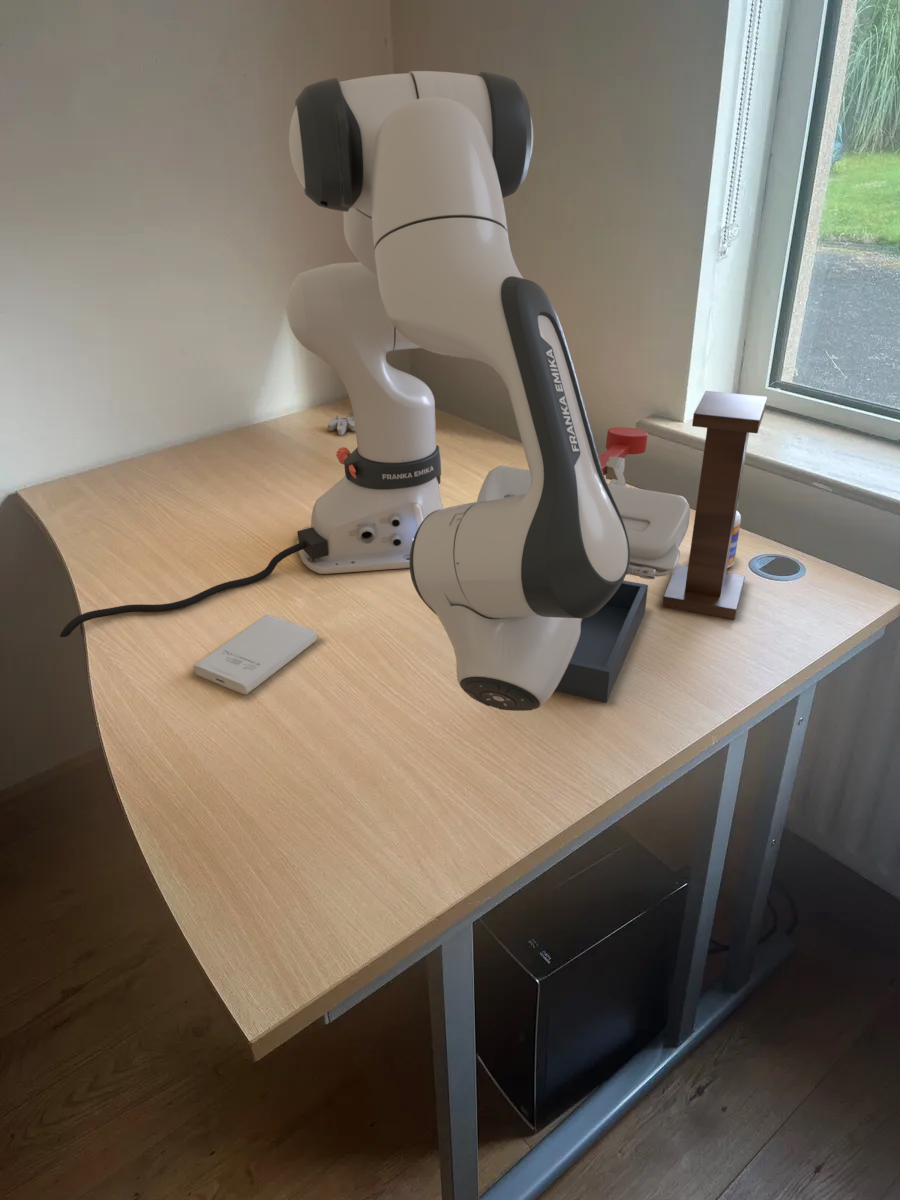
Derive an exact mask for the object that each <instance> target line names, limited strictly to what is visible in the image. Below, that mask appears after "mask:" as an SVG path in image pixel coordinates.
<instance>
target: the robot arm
mask: <svg viewBox="0 0 900 1200" xmlns="http://www.w3.org/2000/svg"><path fill="white" fill-rule="evenodd" d="M528 100H529V99H528V98H527V95H526V94H525V92H524V90H522V88H521V87H520V85H519V84H518V83H517V81H516V80H514V79H513V78H511V77H508V76H505V75H502V74H498V73H492V72H486V71H480V72H479V73H478V74H477V75H476V74H469V73H461V72H451V71H434V70H409V71H408V72H407V73H390V74H389V73H388V74H381V75H380V74H379V75H378V74H377V75H370V76H365V77H357V78H352V79H348V80H342V81H340V80H339V79H338V77H333V78H328V79H324V80H320V81H317V82H313V83H311V84H309V85H306V86H304V88H302V91H301V92H300V93H299V94H298V96H297V97H296V98H295V102H294V106H295V108H294V110H293V113H292V116H291V120H290V122H289V123H290V124H289V130H288V150H289V157H290V160H291V161H290V162H291V164H292V168H293V171H294V173H295V176H296V177H297V179H298V181H299V183H300V184H301V186H302V188H303V192H304V195H305V196H306V197H307V198H309V200H311V201H312V202H313V203H314V204H316V205H317V206H319V207H321V208H325V209H329V210H333V211H339V212H343V213H342V214H343V235H344V239H345V242H346V244H347V246H348V248H349V250H350V251H351V253H352V254H353V255H354V257H355V259H356V260H358V261H354V262H337V263H335V262H334V263H330V264H327V265H322V266H319V267H315V268H312V269H309V270H305V271H302V272H299V273H298V274H297V276H296V277H295V278H294V280H293V281H292V283H291V285H290V288H289V289H288V293H287V297H286V302H285V303H286V305H285V307H286V310H285V311H286V318H287V322H288V325H289V327H290V330H291V332H292V334H293V336H294V337H295V338H296V340H297V341H298V343H300V344H301V346H303V347H304V348H305V349H306V350H307V351H309V352H310V353H312V354H314V355H315V356H316V357H318V358H320V359H321V360H323V361H324V362H325V363H326V364H327V365H328V366H329V367H330V368H331V369H332V370H333V371H334V373H335V374H336V375H337V376H338V378H339V379H340V380H341V382H342V384H343V386H344V388H345V390H346V392H347V395H348V398H349V401H350V405H351V410H352V413H353V415H352V416H353V418H354V422H355V429H356V431H355V438H356V448H355V449H353V451H352V452H351V451H350V450H349V449H348V447H339V448H338V449H337V451H335V452H336V455H335V457H336V459H337V460H338V462H339V463H340V464H341V465H343V466H344V467H343V468H344V474H345V475H344V476H343V477H342V478H341V479H340V480H339V481H338V482H337V483H335V484H334V485H333V486H331V487H330V488H329V489H328V490H327V491H326V492H325V493H323V494H322V495H321V496H320V497H318V498H317V499H316V501H315V503H314V505H313V507H312V512H311V518H310V525H308V526H305V527H304V528H302V529H300V530H297V531H296V533H297V543H296V544H293V545H292V546H290V547H287V548H285V549H283V550H282V551H280V552H279V553H277V554H275V556H273V557H272V558H271V560H270V561H269V563H268V564H267V565H266V567H265V568H264V569H262V570H261V571H259V572H258V573H256V574H253V575H251V576H248V577H243V578H240V579H239V578H238V579H235V580H229V581H226V582H223V583H218V584H217V585H215V586H211V587H209V588H207V589H205V590H203V591H201V592H198V593H197V594H193V595H192V596H189V597H187V598H184V599H182V600H179V601H174V602H170V603H161V604H160V603H159V604H144V603H143V604H123V605H119V606H113V607H108V608H102V609H95V610H91V611H87V612H84V613H82V614H80V615H77V616H76V617H74V618H73V619H71V621H69V622H68V623H67V624H66V625H65V626H64V628H63V629H62V631H61V632H60V634H59V637H60V638H66V637H68V636H70V635H71V634H72V632H73V631H74V630H75V629H76V628H77V627H78V626H79V625H81V624H83V623H85V622H87V621H90V620H94V619H99V618H104V617H110V616H116V615H120V614H121V615H122V614H127V613H163V612H165V613H166V612H170V611H177V610H180V609H183V608H184V609H185V608H186V607H189V606H192V605H195V604H197V603H200V602H201V601H203V600H205V599H207V598H209V597H210V598H211V596H213V595H216V594H219V593H221V592H224V591H227V590H230V589H234V588H238V587H243V586H248V585H251V584H255V583H257V582H259V581H261V580H264V579H265V578H267V577H268V576H270V575H271V574H272V573H273V571H274V570H275V568H276V567H277V565H278V564H279V563H280V562H281V561H283V560H284V559H286V558H288V557H289V556H291V555H294V554H295V553H298V555H299V558H300V561H302V563H303V564H304V566H305V567H306V568H307V569H310V571H312V572H314V573H317V574H319V575H328V574H341V573H342V574H343V573H354V572H357V573H358V572H370V571H383V570H397V569H409V575H410V578H411V579H410V580H411V582H412V585H413V587H414V589H415V591H416V593H417V595H418V596H419V598H420V599H421V601H422V602H423V603H424V604H425V605H426V606H427V608H429V609H430V610H431V612H433V613H434V614H435V616H437V618H438V620H439V621H440V623H441V625H442V627H443V628H444V630H445V632H446V635H447V637H448V639H449V641H450V643H451V645H452V648H453V651H454V657H455V662H456V663H455V664H456V679H457V683H458V685H459V687H460V688H461V689H462V690H463V692H464V693H466V694H467V695H468V696H469V697H470V698H471V699H473V700H474V701H475V702H478V703H480V704H482V705H485V706H487V707H492V708H494V709H498V710H501V711H511V712H512V711H513V712H523V711H524V712H525V711H528V712H529V711H533V710H536V709H539V708H541V707H542V706H543V705H544V704H546V702H547V701H548V700H549V699H550V698H551V697H552V696H553V694H554V692H556V691H555V689H556V688H557V686H558V684H559V682H560V681H561V679H562V677H563V675H564V673H565V671H566V669H567V667H568V664H569V662H570V660H571V658H572V655H573V653H574V651H575V648H576V646H577V643H578V640H579V638H580V633H581V621H582V618H587V617H590V616H592V615H594V614H595V613H596V612H598V611H599V610H600V609H601V608H602V607H603V606H604V605H605V604H606V603H607V602H608V601H609V600H610V599H611V597H612V596H613V595H614V594H615V592H616V591H617V590H618V588H619V587H620V585H621V583H622V582H623V580H624V581H625V578H626V576H627V575H628V576H629V575H630V576H631V575H632V576H635V577H639V578H641V579H644V580H655V579H656V578H657V577H659V578H660V577H665V576H668V575H672V574H673V571H674V569H675V568H676V565H677V564H678V562H679V560H680V557H681V556H680V555H681V551H680V546H681V544H682V543H683V541H684V538H685V536H686V534H687V531H688V528H689V526H690V525H689V524H690V515H691V507H690V503H688V500H687V499H686V497H684V496H682V495H678V494H674V493H673V494H672V493H668V492H662V491H661V492H660V491H654V490H649V489H642V488H637V487H631V486H626V479H625V476H624V472H625V468H626V467H625V466H626V465H625V464H626V463H625V461H626V459H625V457H624V458H620V457H613V456H610V457H609V461H608V462H607V464H606V472H607V473H606V474H605V475H604V474H603V471H602V468H601V464H600V461H599V453H598V451H597V447H596V443H595V440H594V436H593V431H592V428H591V425H590V421H589V418H588V413H587V410H586V407H585V402H584V399H583V394H582V392H581V388H580V384H579V381H578V377H577V373H576V370H575V366H574V363H573V360H572V356H571V352H570V350H569V346H568V342H567V340H566V336H565V333H564V329H563V327H562V324H561V322H560V319H559V316H558V313H557V311H556V309H555V307H554V305H553V302H552V300H551V299H550V297H549V295H548V294H547V292H546V291H545V290H544V289H543V288H542V286H541V285H539V284H538V283H537V282H535V281H533V280H530V279H526V278H524V276H522V274H521V272H520V269H519V268H518V266H517V264H516V262H515V259H514V257H513V256H514V255H513V253H512V249H511V245H510V244H511V243H510V240H509V239H510V238H509V230H508V224H507V216H506V210H505V204H504V198H506V197H509V196H511V195H513V194H516V192H517V191H518V189H519V188H520V187H521V185H522V184H523V182H524V181H525V179H527V175H528V171H529V167H530V163H531V158H532V154H533V147H534V125H533V120H532V115H531V111H530V105H529V101H528ZM415 349H423V350H425V351H428V352H431V353H434V354H438V355H442V356H447V357H452V358H458V359H463V360H471V361H478V362H481V363H484V364H486V365H487V366H489V367H490V368H492V369H493V370H494V371H495V372H496V373H497V374H498V375H499V376H500V378H501V379H502V381H503V382H504V384H505V387H506V388H507V392H508V395H509V399H510V402H511V406H512V410H513V413H514V417H515V421H516V425H517V429H518V432H519V436H520V437H519V438H520V439H521V444H522V447H523V453H524V455H525V459H526V462H527V467H528V469H525V468H518V467H513V466H507V465H499V466H496V467H494V468H492V469H491V470H489V472H488V473H487V475H486V476H485V478H484V480H483V482H482V485H481V487H480V490H479V493H478V495H477V499H476V501H474V502H469V503H464V504H463V503H462V504H458V505H454V506H453V505H452V506H449V507H445V508H443V502H442V497H441V489H440V484H441V476H442V458H441V457H442V456H441V452H440V446H439V445H437V425H436V404H435V403H436V401H435V397H434V394H433V392H432V390H431V388H430V387H429V385H428V384H426V383H425V382H424V381H423V380H421V379H419V378H418V377H416V376H414V375H412V374H410V373H407V372H406V371H402V370H399V369H397V368H396V367H394V366H392V365H390V364H389V363H388V361H387V354H388V353H390V352H392V351H400V350H402V351H403V350H415ZM607 480H610V481H609V483H607Z"/></svg>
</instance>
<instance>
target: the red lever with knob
mask: <svg viewBox="0 0 900 1200" xmlns="http://www.w3.org/2000/svg"><path fill="white" fill-rule="evenodd" d="M648 436H649V432H647V431H646V430H643V429H639V428H635V427H625V426H615V427H610V428H608V429H607V434H606V442H605V449H606V450H604V451H603V452H602V453H601V454H599V455H598V457H599V461H600V464H601V468H602V471H603V474H604V476H606V473H607V472H606V464H607V462H608V461H609V457H610V456H613V457H620V458H624V459H625V457H627V455H641V454H644V453H645V452H646V451H647V444H648Z"/></svg>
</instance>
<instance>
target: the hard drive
mask: <svg viewBox="0 0 900 1200" xmlns="http://www.w3.org/2000/svg"><path fill="white" fill-rule="evenodd" d="M317 640H318V636H317V631H314V630H313V629H311V628H308V627H305V626H302V625H299V624H296V623H293V622H291V621H287V620H285V619H282V618H279V617H276V616H274V615H271V614H265V615H263V616H262V617H260V618H259V619H257V620H256V621H255V622H253V623H252V624H250V625H249V626H248V627H246V628H245V629H243V630H241V632H239V633H238V634H236V635H235V636H233V637H232V638H230V639H229V640H228V641H226V642H225V643H223V644H222V645H220V646H219V647H218V648H216V649H215V650H213V651H212V652H210V653H209V654H208V655H206V656H205V657H204V658H202V659H201V660H199V661H197V662H196V663H194V664H193V665H192V667H193V671H194V674H195V675H196V676H198V677H200V678H202V679H204V680H207V681H209V682H211V683H215V684H217V685H220V686H221V687H224V688H226V689H229V690H232V691H234V692H237V693H238V694H241V695H245V696H246V695H248V694H249V693H251V692H252V691H253V690H255V689H256V688H258V687H259V686H260V685H261V684H263V683H264V682H265V681H266V680H268V679H269V678H270V677H271V676H273V675H274V674H275V673H277V672H278V671H280V670H281V669H282V668H283V667H285V666H286V665H287V664H288V663H290V662H291V661H292V660H294V659H295V658H296V657H297V656H299V655H300V654H301V653H303V652H304V651H305V650H306V649H308V648H309V647H310V646H311V645H313V644H314V643H315V642H316V641H317Z"/></svg>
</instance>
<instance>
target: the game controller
mask: <svg viewBox="0 0 900 1200" xmlns="http://www.w3.org/2000/svg"><path fill="white" fill-rule="evenodd" d="M351 415H352V416H353V412H350V413H349V416H339V415H336V416H335V417H333V418H330V419H329V421H328V422H327V428H328V431H334V430H337V435H338V436H343V435H344V434H345V433H346V432H347V430H348V428H349V429H350V431H352V432H356V429H355V422H354V417H351Z"/></svg>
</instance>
